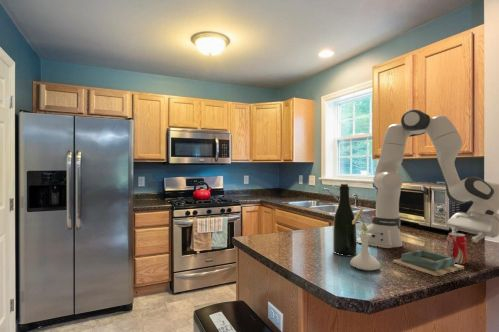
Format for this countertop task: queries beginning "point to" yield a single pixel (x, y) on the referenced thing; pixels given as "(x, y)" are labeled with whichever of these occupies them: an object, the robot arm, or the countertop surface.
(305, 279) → the countertop surface
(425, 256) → the tray
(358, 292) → the countertop surface
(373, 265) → the flower in vase
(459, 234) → the soda can
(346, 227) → the dark green wine bottle
